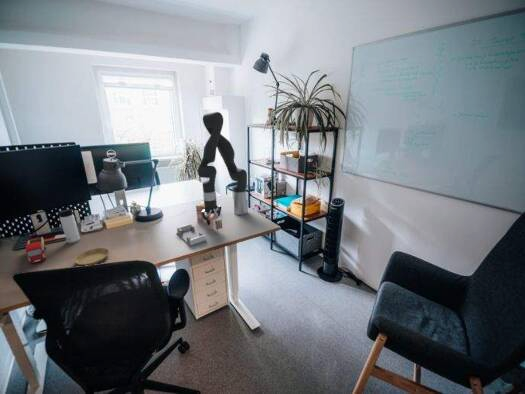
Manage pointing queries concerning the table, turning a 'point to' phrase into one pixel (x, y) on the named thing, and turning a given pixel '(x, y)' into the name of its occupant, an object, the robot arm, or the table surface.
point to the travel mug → (69, 226)
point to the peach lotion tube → (214, 222)
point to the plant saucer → (92, 256)
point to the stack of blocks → (200, 208)
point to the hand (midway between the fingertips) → (212, 223)
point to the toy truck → (35, 250)
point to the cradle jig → (190, 235)
